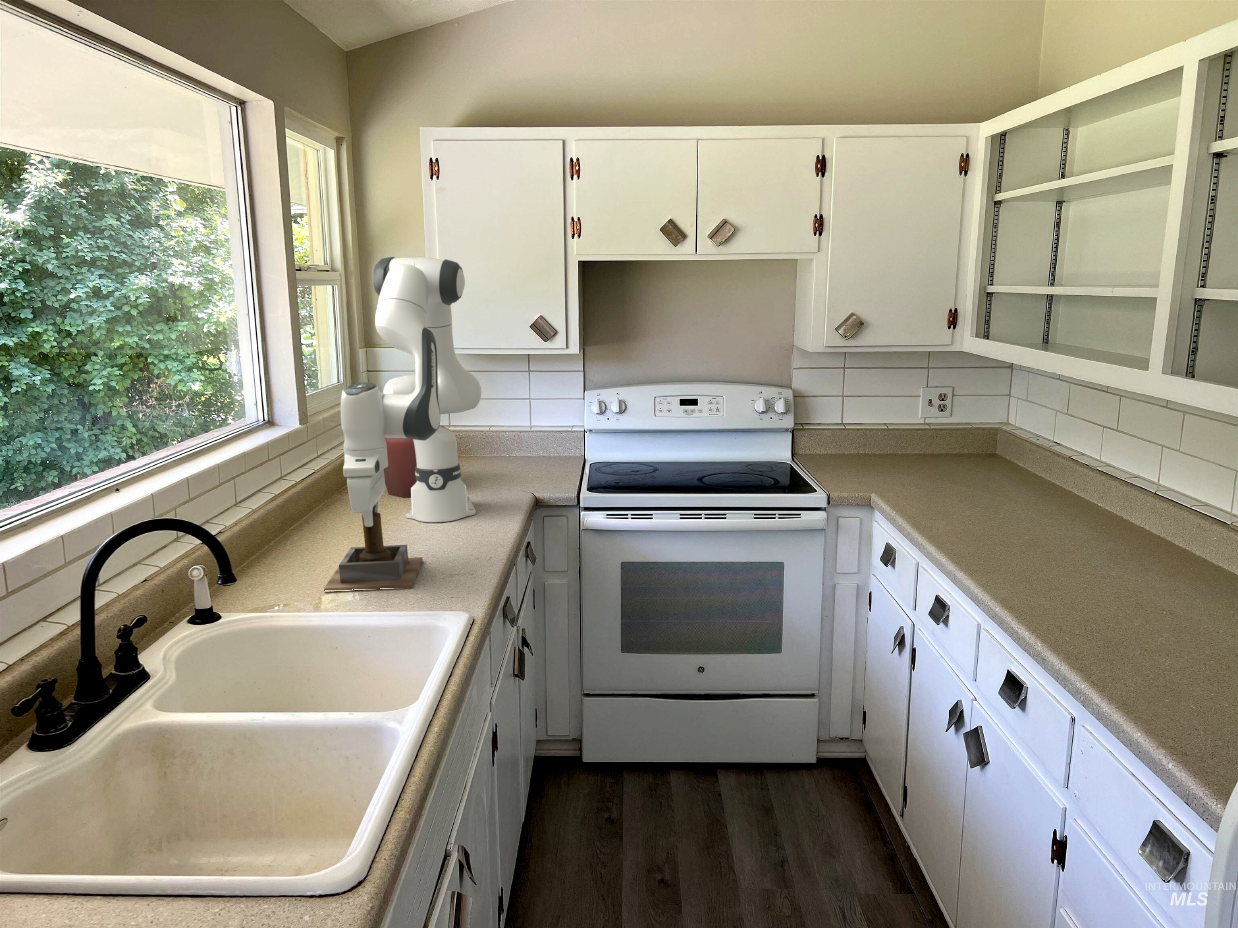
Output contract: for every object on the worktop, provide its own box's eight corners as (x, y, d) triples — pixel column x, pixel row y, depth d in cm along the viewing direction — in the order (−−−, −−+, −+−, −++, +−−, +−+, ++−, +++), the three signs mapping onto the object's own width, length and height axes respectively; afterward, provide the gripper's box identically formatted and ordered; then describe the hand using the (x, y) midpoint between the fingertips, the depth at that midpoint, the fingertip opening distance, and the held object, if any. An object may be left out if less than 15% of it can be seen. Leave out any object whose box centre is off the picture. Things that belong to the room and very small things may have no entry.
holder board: (342, 565, 201) (341, 544, 200) (422, 561, 202) (421, 540, 201) (324, 592, 183) (321, 570, 182) (411, 588, 185) (410, 565, 184)
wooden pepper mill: (379, 556, 197) (372, 478, 193) (397, 562, 193) (390, 482, 189) (354, 564, 192) (346, 484, 188) (372, 570, 188) (364, 488, 184)
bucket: (461, 495, 263) (456, 412, 257) (386, 505, 253) (379, 419, 248) (440, 479, 284) (435, 402, 279) (371, 487, 275) (364, 408, 270)
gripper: (360, 451, 197) (366, 510, 200) (340, 470, 177) (347, 536, 180) (389, 449, 198) (394, 509, 201) (372, 469, 178) (378, 534, 181)
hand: (371, 522), depth 190 cm, fingers closed on wooden pepper mill, 4 cm apart
